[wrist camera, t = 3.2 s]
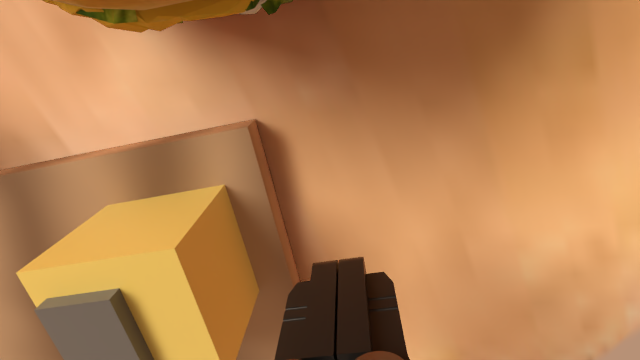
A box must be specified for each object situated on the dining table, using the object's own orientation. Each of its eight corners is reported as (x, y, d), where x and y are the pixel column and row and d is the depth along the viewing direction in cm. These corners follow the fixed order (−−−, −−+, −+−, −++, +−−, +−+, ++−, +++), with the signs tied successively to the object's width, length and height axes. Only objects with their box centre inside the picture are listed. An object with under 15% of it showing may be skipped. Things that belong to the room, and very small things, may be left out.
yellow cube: (224, 184, 14) (166, 259, 10) (259, 290, 16) (223, 395, 12) (107, 205, 15) (0, 283, 10) (153, 304, 17) (79, 409, 12)
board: (255, 119, 15) (247, 126, 13) (342, 432, 21) (341, 455, 20) (-191, 208, 18) (-227, 220, 17) (3, 457, 24) (-14, 478, 23)
